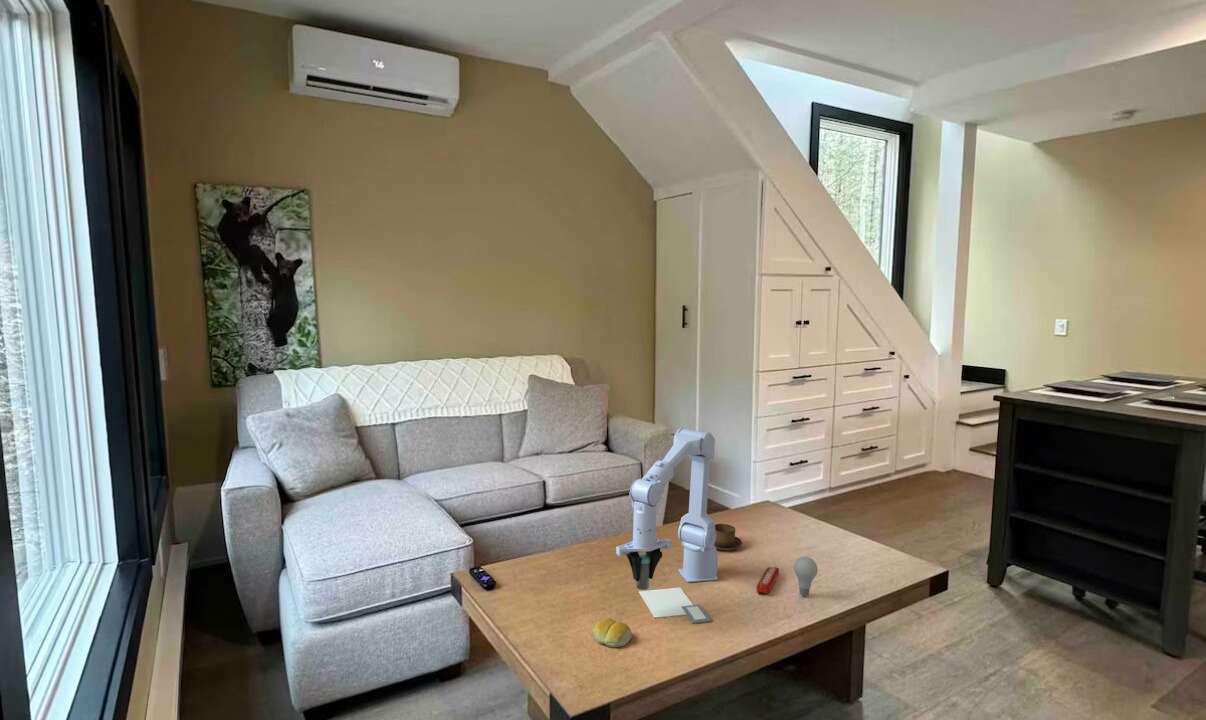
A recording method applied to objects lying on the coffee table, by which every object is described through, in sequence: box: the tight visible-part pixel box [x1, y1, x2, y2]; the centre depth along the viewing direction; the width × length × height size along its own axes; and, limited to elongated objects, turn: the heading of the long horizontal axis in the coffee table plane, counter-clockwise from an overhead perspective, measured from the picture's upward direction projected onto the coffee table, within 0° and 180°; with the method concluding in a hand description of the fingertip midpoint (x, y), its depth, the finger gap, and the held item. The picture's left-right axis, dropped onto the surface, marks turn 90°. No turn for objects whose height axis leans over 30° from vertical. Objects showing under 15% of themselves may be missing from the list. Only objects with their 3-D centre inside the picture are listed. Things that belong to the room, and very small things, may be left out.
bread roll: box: [592, 617, 633, 648], centre depth 151 cm, size 8×9×4 cm
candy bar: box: [756, 566, 780, 594], centre depth 181 cm, size 16×4×3 cm, turn 153°
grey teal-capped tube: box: [635, 553, 650, 591], centre depth 161 cm, size 3×3×8 cm
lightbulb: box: [793, 556, 818, 597], centre depth 173 cm, size 6×6×11 cm
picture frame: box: [682, 604, 713, 625], centre depth 162 cm, size 5×8×1 cm, turn 13°
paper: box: [638, 587, 694, 619], centre depth 169 cm, size 12×14×1 cm
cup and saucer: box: [714, 523, 743, 551], centre depth 206 cm, size 12×12×6 cm
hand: (642, 578), depth 162 cm, fingers closed on grey teal-capped tube, 3 cm apart
